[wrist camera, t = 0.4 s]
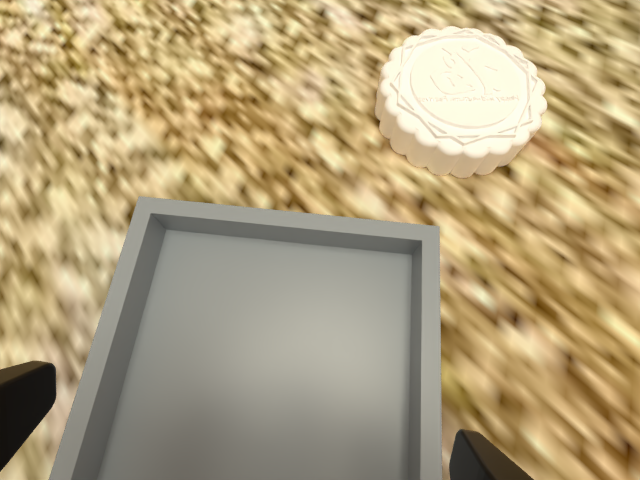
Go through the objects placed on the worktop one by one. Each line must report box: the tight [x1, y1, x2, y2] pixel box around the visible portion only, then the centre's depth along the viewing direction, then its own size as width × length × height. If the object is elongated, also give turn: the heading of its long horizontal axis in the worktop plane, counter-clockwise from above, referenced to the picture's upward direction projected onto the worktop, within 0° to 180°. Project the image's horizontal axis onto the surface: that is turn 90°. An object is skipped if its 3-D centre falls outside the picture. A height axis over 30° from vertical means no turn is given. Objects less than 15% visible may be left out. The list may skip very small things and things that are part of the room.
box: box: [49, 196, 442, 480], centre depth 21 cm, size 18×18×4 cm
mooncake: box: [375, 26, 547, 178], centre depth 28 cm, size 12×12×4 cm
